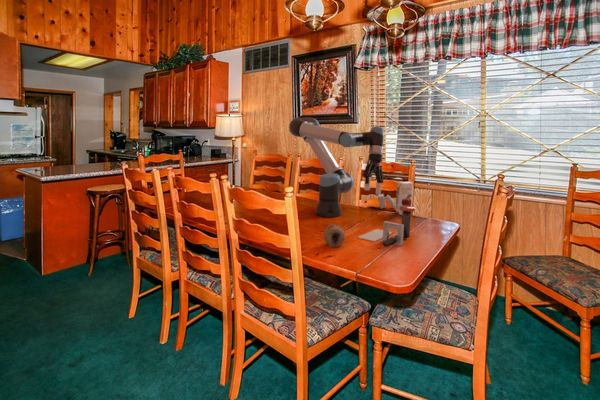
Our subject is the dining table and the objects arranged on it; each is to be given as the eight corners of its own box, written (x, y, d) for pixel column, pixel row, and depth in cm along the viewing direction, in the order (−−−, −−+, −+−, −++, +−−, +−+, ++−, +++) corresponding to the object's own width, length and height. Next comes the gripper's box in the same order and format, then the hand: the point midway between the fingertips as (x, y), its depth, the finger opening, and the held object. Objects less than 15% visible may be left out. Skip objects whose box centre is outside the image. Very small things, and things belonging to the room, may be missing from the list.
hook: (378, 244, 169) (379, 213, 166) (401, 233, 187) (403, 205, 184) (392, 247, 165) (394, 216, 162) (415, 235, 182) (417, 207, 179)
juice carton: (394, 212, 230) (396, 181, 226) (407, 211, 231) (410, 181, 227) (398, 215, 222) (400, 183, 218) (412, 214, 223) (415, 183, 219)
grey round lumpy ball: (324, 249, 169) (317, 228, 169) (338, 243, 173) (332, 222, 173) (336, 249, 161) (329, 227, 160) (351, 242, 165) (344, 221, 165)
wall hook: (397, 209, 235) (394, 193, 233) (381, 212, 237) (377, 196, 236) (397, 206, 242) (394, 191, 241) (380, 209, 245) (377, 194, 243)
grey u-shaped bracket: (380, 241, 173) (381, 222, 172) (385, 239, 177) (386, 220, 175) (399, 245, 167) (400, 226, 166) (404, 243, 171) (405, 224, 169)
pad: (357, 237, 178) (357, 237, 178) (376, 229, 192) (376, 229, 192) (374, 241, 173) (374, 241, 173) (392, 233, 186) (392, 232, 186)
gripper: (371, 148, 198) (368, 188, 196) (391, 159, 218) (388, 196, 215) (359, 149, 203) (355, 188, 200) (379, 160, 222) (376, 196, 220)
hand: (372, 192), depth 208 cm, fingers open, 13 cm apart
